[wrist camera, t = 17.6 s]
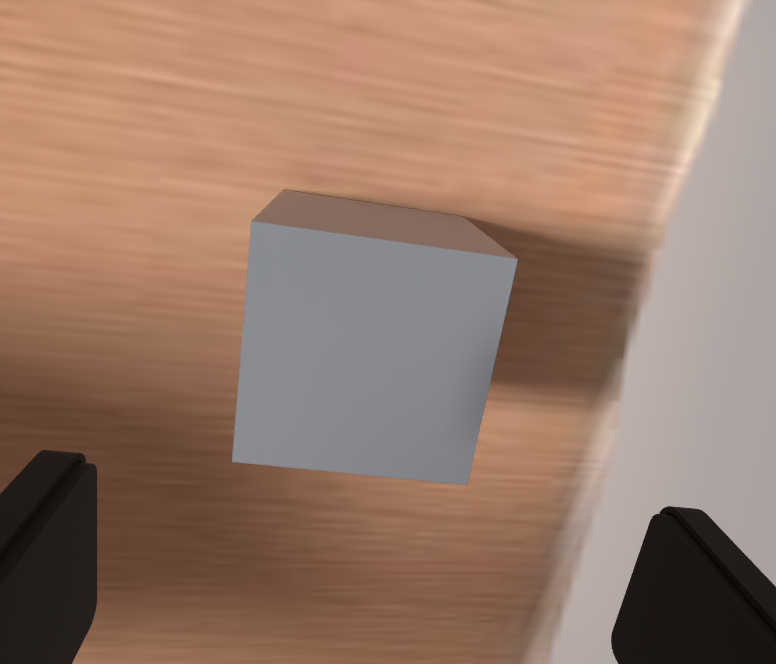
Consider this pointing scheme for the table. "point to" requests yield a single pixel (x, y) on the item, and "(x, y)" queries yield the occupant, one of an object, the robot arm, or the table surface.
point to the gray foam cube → (367, 338)
